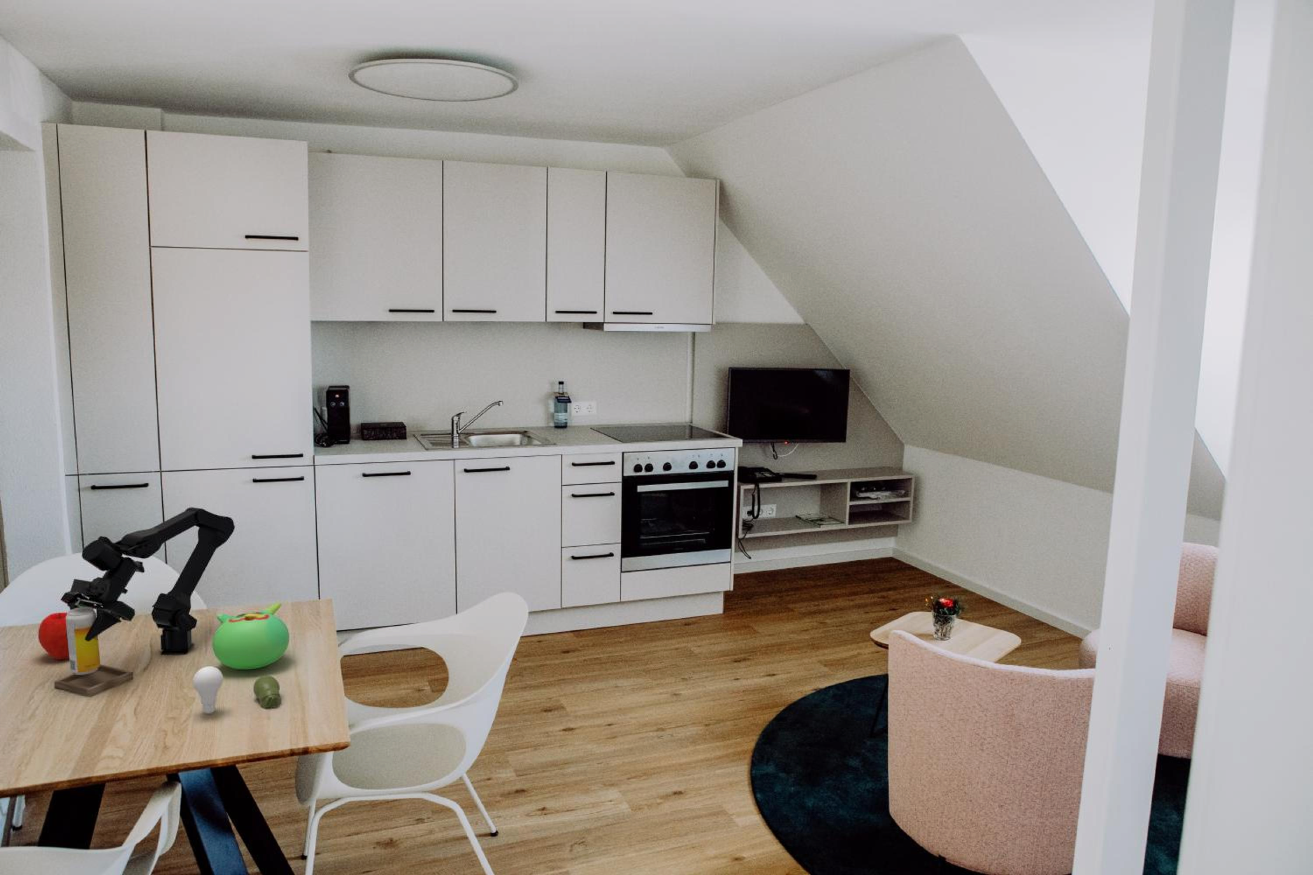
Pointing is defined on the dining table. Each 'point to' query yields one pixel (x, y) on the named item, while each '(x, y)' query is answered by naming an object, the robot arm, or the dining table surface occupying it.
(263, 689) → the olive green rounded piece
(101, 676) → the tray
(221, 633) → the toy bird
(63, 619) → the apple
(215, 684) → the lightbulb
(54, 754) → the dining table surface
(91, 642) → the beer can
